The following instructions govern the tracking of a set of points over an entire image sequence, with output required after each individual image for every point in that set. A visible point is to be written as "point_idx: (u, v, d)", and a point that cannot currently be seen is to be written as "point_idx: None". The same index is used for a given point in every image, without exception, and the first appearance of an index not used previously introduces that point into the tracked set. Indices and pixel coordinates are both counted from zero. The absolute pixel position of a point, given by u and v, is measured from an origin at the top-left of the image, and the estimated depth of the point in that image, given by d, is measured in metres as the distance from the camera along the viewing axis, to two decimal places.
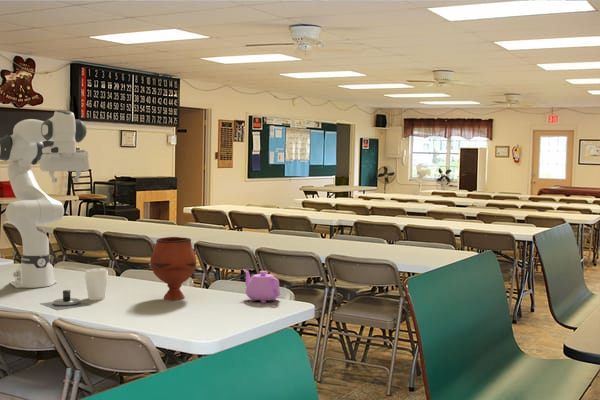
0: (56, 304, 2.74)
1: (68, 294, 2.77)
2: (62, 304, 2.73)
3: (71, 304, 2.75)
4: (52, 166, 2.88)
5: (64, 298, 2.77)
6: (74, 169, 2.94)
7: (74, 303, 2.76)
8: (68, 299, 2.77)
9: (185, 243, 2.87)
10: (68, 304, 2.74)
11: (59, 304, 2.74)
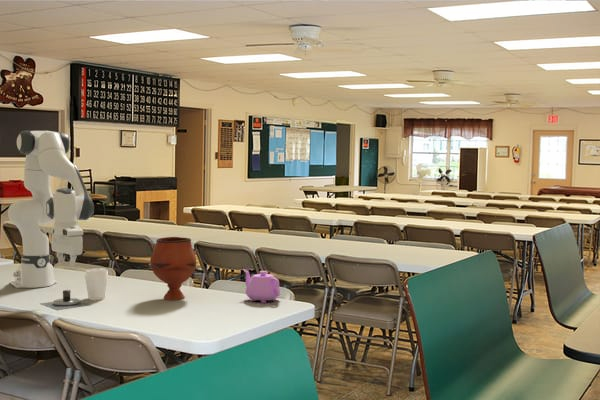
0: (56, 304, 2.74)
1: (68, 294, 2.77)
2: (62, 304, 2.73)
3: (71, 304, 2.75)
4: None
5: (64, 298, 2.77)
6: None
7: (74, 303, 2.76)
8: (68, 299, 2.77)
9: (185, 243, 2.87)
10: (68, 304, 2.74)
11: (59, 304, 2.74)
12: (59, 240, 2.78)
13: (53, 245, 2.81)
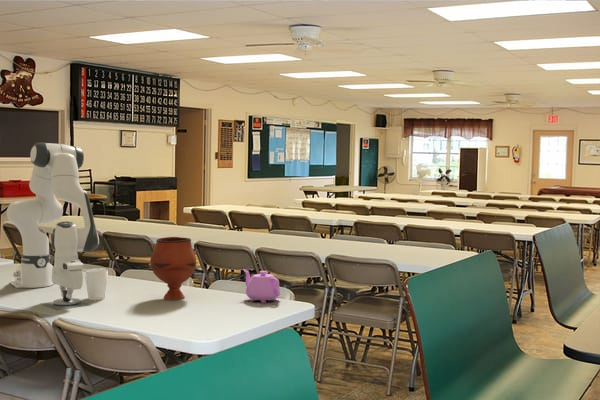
0: (56, 304, 2.74)
1: None
2: (62, 304, 2.73)
3: (71, 304, 2.75)
4: None
5: (64, 298, 2.77)
6: None
7: (74, 303, 2.76)
8: (68, 299, 2.77)
9: (185, 243, 2.87)
10: (68, 304, 2.74)
11: (59, 304, 2.74)
12: (59, 273, 2.79)
13: (53, 277, 2.82)
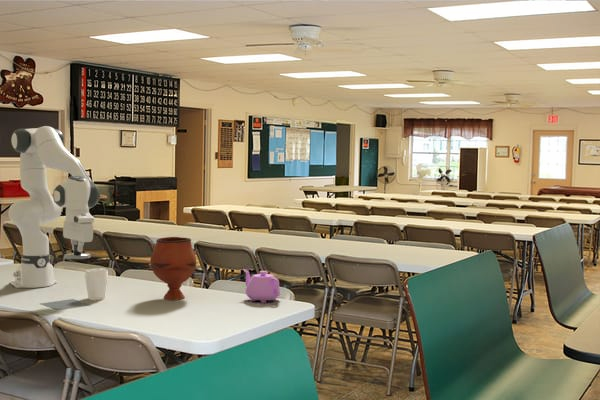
0: (67, 257, 2.78)
1: None
2: (73, 257, 2.77)
3: (82, 257, 2.78)
4: None
5: (75, 252, 2.80)
6: None
7: (85, 257, 2.79)
8: (79, 253, 2.81)
9: (185, 243, 2.87)
10: (79, 257, 2.77)
11: (70, 257, 2.77)
12: (70, 227, 2.82)
13: (65, 232, 2.86)
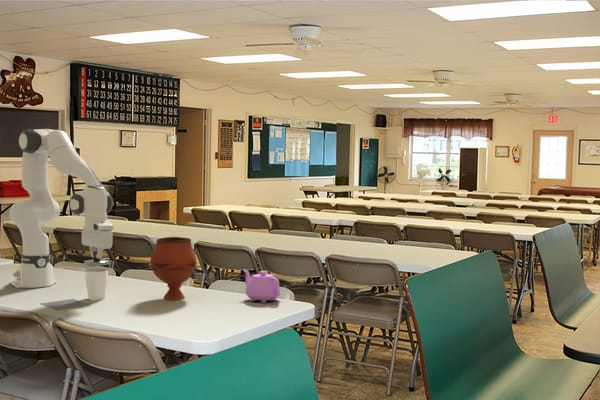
0: (87, 264, 2.84)
1: None
2: (93, 264, 2.84)
3: (101, 264, 2.85)
4: None
5: (94, 258, 2.87)
6: None
7: (104, 263, 2.86)
8: (98, 259, 2.88)
9: (185, 243, 2.87)
10: (98, 264, 2.84)
11: (90, 264, 2.84)
12: (89, 234, 2.89)
13: (83, 239, 2.92)
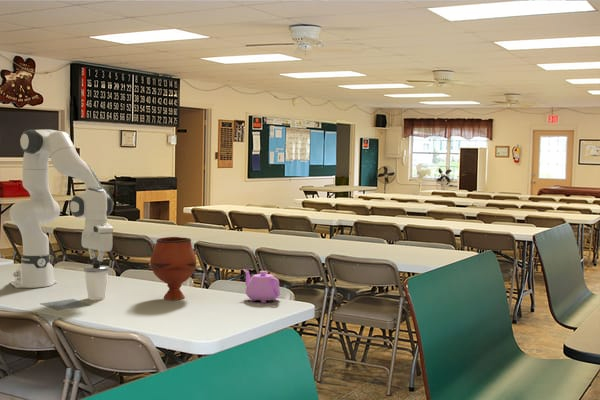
0: (87, 270, 2.85)
1: (98, 261, 2.88)
2: (93, 270, 2.84)
3: (101, 270, 2.85)
4: None
5: (94, 265, 2.87)
6: None
7: (104, 269, 2.86)
8: (98, 266, 2.88)
9: (185, 243, 2.87)
10: (98, 270, 2.84)
11: (90, 270, 2.84)
12: (89, 237, 2.89)
13: (83, 241, 2.93)
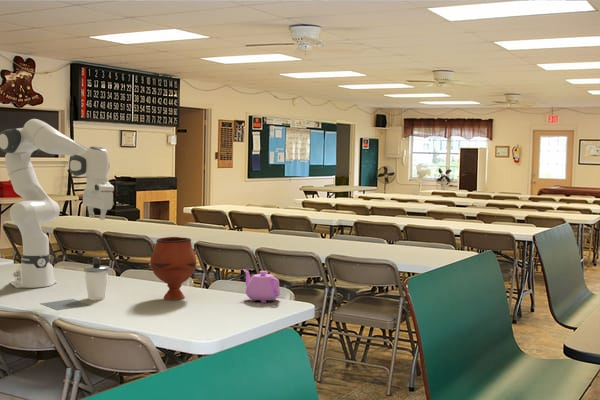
0: (87, 270, 2.85)
1: (98, 261, 2.88)
2: (93, 270, 2.84)
3: (101, 270, 2.85)
4: None
5: (94, 265, 2.87)
6: None
7: (104, 269, 2.86)
8: (98, 266, 2.88)
9: (185, 243, 2.87)
10: (98, 270, 2.84)
11: (90, 270, 2.84)
12: (90, 195, 2.95)
13: (84, 200, 2.98)
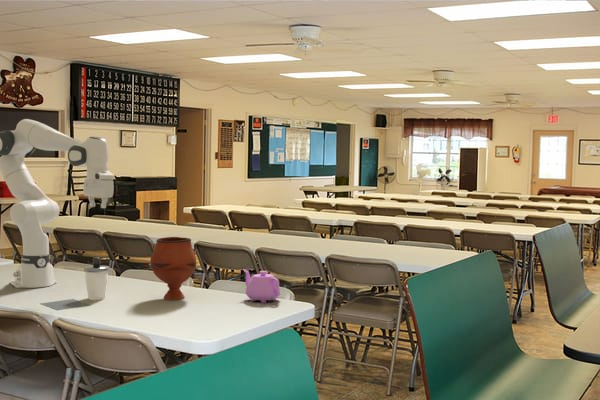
0: (87, 270, 2.85)
1: (98, 261, 2.88)
2: (93, 270, 2.84)
3: (101, 270, 2.85)
4: None
5: (94, 265, 2.87)
6: None
7: (104, 269, 2.86)
8: (98, 266, 2.88)
9: (185, 243, 2.87)
10: (98, 270, 2.84)
11: (90, 270, 2.84)
12: (91, 185, 2.99)
13: (85, 190, 3.03)
